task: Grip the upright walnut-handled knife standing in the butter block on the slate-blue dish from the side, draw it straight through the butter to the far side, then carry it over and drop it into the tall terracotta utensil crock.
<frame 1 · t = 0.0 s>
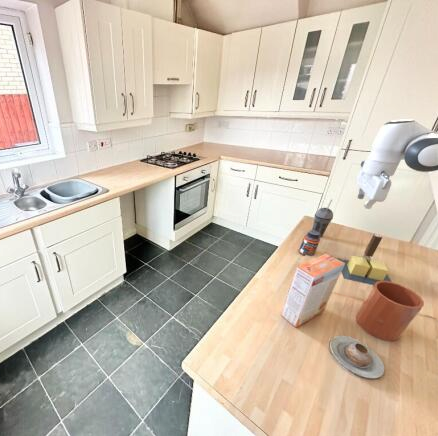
hand: (363, 203, 93), 26 cm above the counter, tool pointing down, fingers open, 8 cm apart
beverage cup: (315, 236, 121), on the counter
cracker box: (301, 313, 81), on the counter
butter: (366, 267, 95), on the butter dish, point 4 cm above the counter
butter dish: (363, 274, 96), on the counter
knife: (361, 267, 99), point 1 cm above the counter, touching butter dish
supplement bottle: (306, 253, 109), on the counter
grey lid: (354, 357, 67), on the counter
crock: (376, 325, 76), on the counter
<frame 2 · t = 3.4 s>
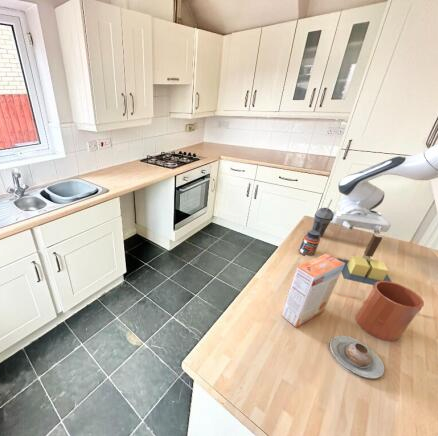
hand: (364, 230, 102), 12 cm above the counter, tool horizontal, fingers open, 8 cm apart
nothing on the counter moved.
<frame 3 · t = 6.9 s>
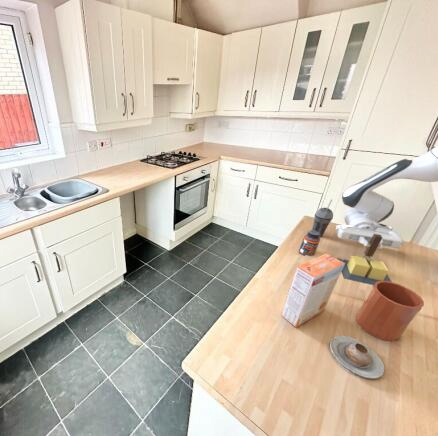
hand: (373, 246, 93), 12 cm above the counter, tool horizontal, fingers closed on knife, 2 cm apart
knife: (361, 267, 99), point 1 cm above the counter, touching butter dish, gripper
everything else where it was.
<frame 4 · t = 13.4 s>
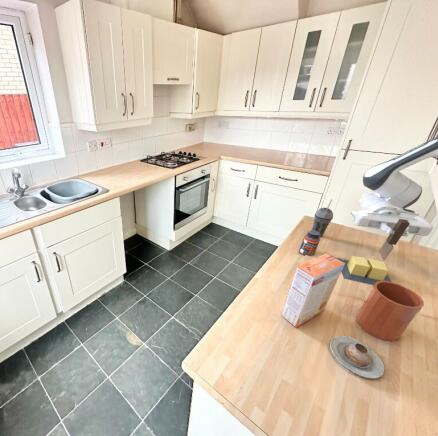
hand: (398, 233, 79), 23 cm above the counter, tool horizontal, fingers closed on knife
knife: (381, 256, 87), point 13 cm above the counter, tilted 7°, touching gripper
everything else where it was.
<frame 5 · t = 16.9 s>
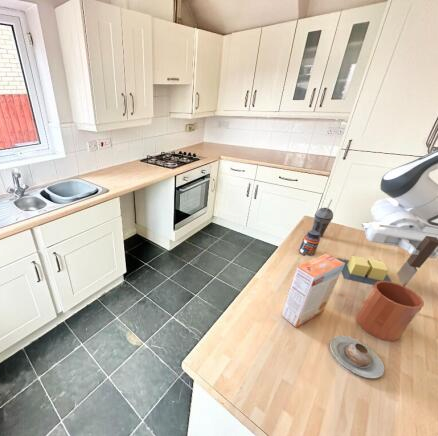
hand: (424, 254, 62), 28 cm above the counter, tool horizontal, fingers closed on knife
knife: (400, 279, 70), point 17 cm above the counter, tilted 7°, touching gripper
everything else where it was.
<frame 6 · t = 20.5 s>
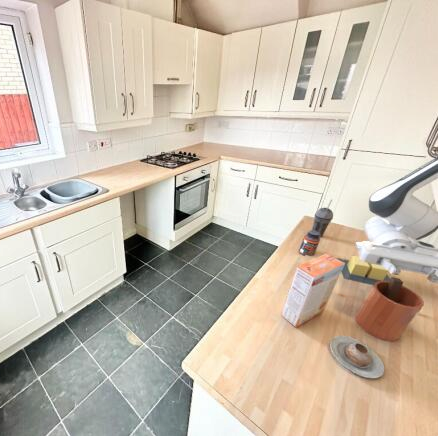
hand: (415, 276, 64), 22 cm above the counter, tool horizontal, fingers open, 6 cm apart
knife: (378, 322, 76), point 1 cm above the counter, tilted 11°, touching crock
everything else where it was.
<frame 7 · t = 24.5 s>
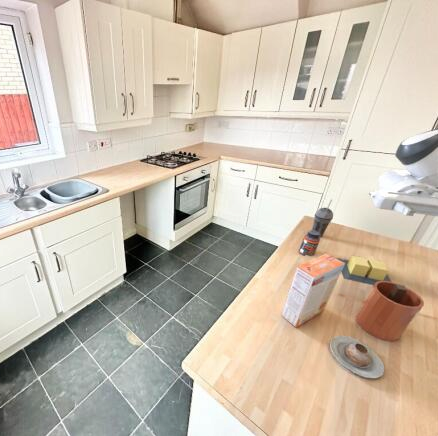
hand: (434, 216, 61), 37 cm above the counter, tool horizontal, fingers open, 8 cm apart
knife: (377, 323, 76), point 1 cm above the counter, touching crock
everything else where it was.
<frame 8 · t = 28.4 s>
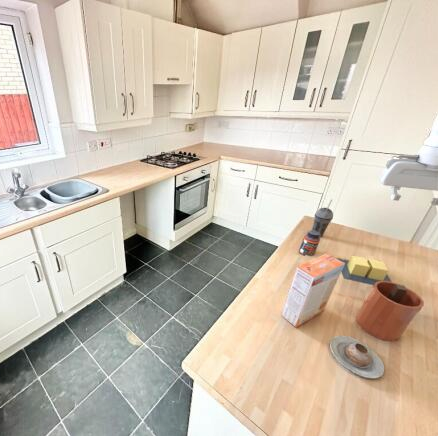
hand: (414, 202, 73), 35 cm above the counter, tool pointing down, fingers open, 8 cm apart
nothing on the counter moved.
at the end: knife moved 30.2 cm from its start; knife inside the target area in the crock (0.4 cm from its centre), point 0.8 cm above the crock's base; the gripper is holding nothing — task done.
